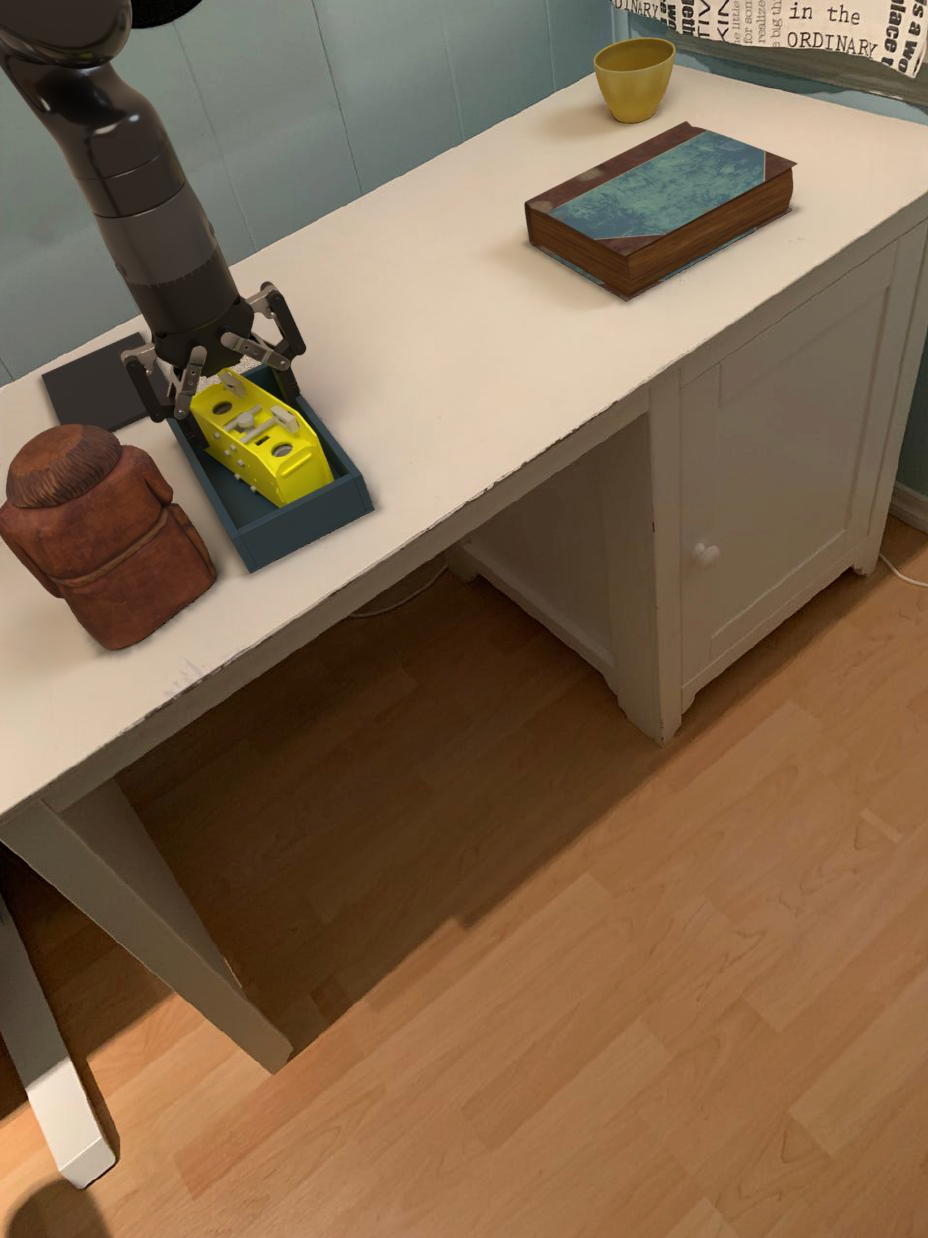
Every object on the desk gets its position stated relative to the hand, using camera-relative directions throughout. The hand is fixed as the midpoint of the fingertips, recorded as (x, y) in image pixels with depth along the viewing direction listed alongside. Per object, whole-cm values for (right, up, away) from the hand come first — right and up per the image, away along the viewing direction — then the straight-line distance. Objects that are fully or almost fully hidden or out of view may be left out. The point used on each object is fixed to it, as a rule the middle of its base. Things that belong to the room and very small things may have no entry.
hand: (247, 422), depth 78 cm
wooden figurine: (-7, -16, -3) cm, 18 cm away
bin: (+1, -4, +5) cm, 6 cm away
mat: (-20, +8, +19) cm, 28 cm away
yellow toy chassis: (+1, -4, +5) cm, 6 cm away
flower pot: (+42, +49, +38) cm, 74 cm away
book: (+41, +26, +20) cm, 52 cm away
